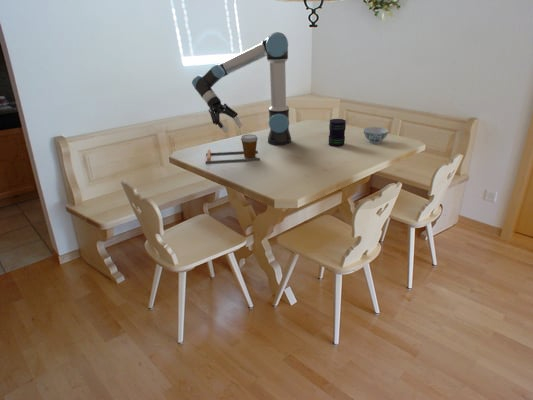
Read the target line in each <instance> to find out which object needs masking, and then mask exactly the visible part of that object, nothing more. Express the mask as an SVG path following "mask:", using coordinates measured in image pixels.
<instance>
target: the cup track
mask: <svg viewBox="0 0 533 400" xmlns="http://www.w3.org/2000/svg"><path fill="white" fill-rule="evenodd" d="M257 153H258V150H256V154H257ZM239 154H240V155H241V154H243V155H244V151H243V150H239V151H222V152H221V151H220V152H219V151H218V152H211V149H207V152H206V153H205V155H206V160H205V164H219V163H220V164H221V163H222V164H224V163H239V162H240V163H242V162H257V161H258V162H259V161H261V158H259V157H254V158H241V159H238V158H237V159H219V160H211V158H212V156H221V155H222V156H223V155H224V156H225V155H239Z"/></svg>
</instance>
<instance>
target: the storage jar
mask: <svg viewBox="0 0 533 400" xmlns="http://www.w3.org/2000/svg"><path fill="white" fill-rule="evenodd" d="M346 123H347V121H346V119H344V118H332V119H329V126H328V127H329V134H328V146H330V147H335V148H336V147H337V148H338V147H339V148H340V147H343V146H345V140H346V136H345V132H346Z"/></svg>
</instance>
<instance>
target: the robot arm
mask: <svg viewBox="0 0 533 400" xmlns="http://www.w3.org/2000/svg"><path fill="white" fill-rule="evenodd" d="M288 47H289V41H288V38H287V36H286V35H285V34H284V33H282V32H277V31H276V32H273V33H271V34H269V36H268V37H266V38H265V39H263V40H261V43H259V44H257V45H255V46H253V47H251V48H249V49H247V50H245V51H243V52H241V53H239V54H236V55H235V56H233V57H231V58H229V59H227V60H225V61H222V62H221V63H219V64H218V63H215V64H214V65H212V67H211V68H209V70H208V71H207V72H206V73H205V74H204V75H201V74H200V75H196V77H194V78H193V79H192V82H191V84H192V86H193V88H194V89H195V90H196V92H197V93H198V95H199V96H200V97H201V98H202V99H203V101H204V102H205V103H206V105H207V107H208V108H209V109H208V113H209V114H210V118H211V120H212V124H213V125H215V126H218V127H219V128H220V129H221V131H222V132H223V133H224V134H226V133H227V132H228V128H227V127H226V125H225V123H224V122H223V121H220V120H221V117H220V115H221V114H224V115H226V116H228V117H230V118H231V119H232V120H233V121H234V123H235V124H236V126H237V127H238V128H242V126H243V123H242V122H241V121H240V119H239V118H238V115H239V113H238V112H236V111H235V110H234V109H233V108H231V107H230V106H228V104H227V103H224V104H222V101H221V100H220V98H219V96H218V95H217V94H216V93H215V91H214V90H213V89H212V87H214V85H215V84H217V82H219V81H220V80H221V79H223V78H224V77H226V76H228V75H230V74H231V73H235V72H236V71H238V70H240V69H244V68H245V67H247V66H248V65H251V64H252V63H254V62H257V61H259V60H262V59H263V58H266V60H267V61H268V62H269V75H270V82H269V83H270V103H271V104H270V107H269V108H268V126H269V128H270V130H269V132H268V137H267V143H268V144H270V145H275V146H276V145H277V146H282V145H288V144H291V143H292V136H291V132H290V130H289V129H290V128H289V127H290V108H289V105H287V96H286V95H287V90H286V88H287V83H286V82H287V81H286V62H287V61H288V59H289V48H288Z"/></svg>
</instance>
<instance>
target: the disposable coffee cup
mask: <svg viewBox="0 0 533 400" xmlns="http://www.w3.org/2000/svg"><path fill="white" fill-rule="evenodd" d="M240 140H241V144H242V151H244V153H243V156H244V159H254V158H256V154H257V153H256V151H257V145H258V140H259V138H258V136H257V135H256V134H251V133H250V134H249V133H248V134H244V135H241V138H240Z"/></svg>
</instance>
